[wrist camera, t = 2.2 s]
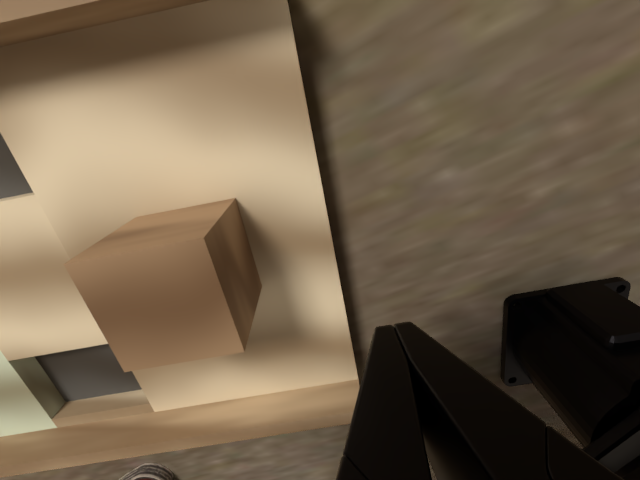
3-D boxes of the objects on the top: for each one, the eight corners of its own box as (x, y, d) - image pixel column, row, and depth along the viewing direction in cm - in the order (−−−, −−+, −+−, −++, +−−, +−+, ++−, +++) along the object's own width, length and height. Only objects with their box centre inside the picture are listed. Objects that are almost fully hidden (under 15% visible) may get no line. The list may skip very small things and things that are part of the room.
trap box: (356, 369, 20) (365, 421, 17) (-7, 428, 21) (-65, 487, 18) (281, -29, 12) (271, -77, 9) (-287, 100, 13) (-480, 99, 10)
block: (262, 286, 16) (244, 352, 11) (173, 302, 16) (124, 371, 12) (235, 197, 14) (203, 237, 10) (136, 217, 14) (63, 263, 10)
